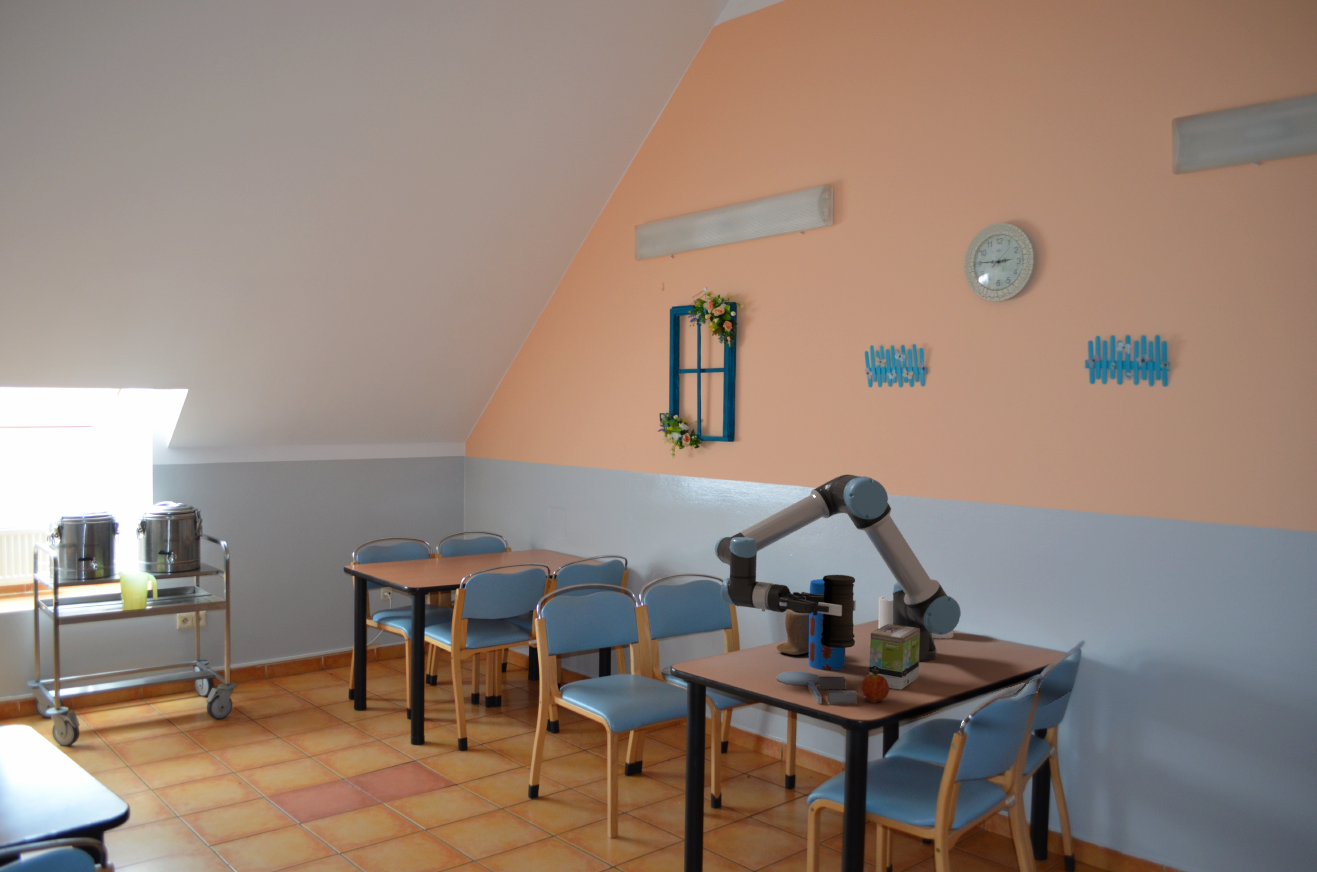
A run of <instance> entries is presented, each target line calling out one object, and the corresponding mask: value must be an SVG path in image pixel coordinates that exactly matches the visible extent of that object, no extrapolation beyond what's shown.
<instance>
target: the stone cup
mask: <svg viewBox="0 0 1317 872" xmlns="http://www.w3.org/2000/svg"><path fill="white" fill-rule="evenodd" d="M784 624H785V625H784V626H785V630H786V634H787V641H786V642H783V643H780V644H778V645H776V646H775V647H776V650H777V651H779V652H780V653H783V654H787V655H792V656H797V655H798V656H799V655H804V654H809V614H808V613H804V612H799V611H794V610H789V609H787V610H786V611H785V621H784Z"/></svg>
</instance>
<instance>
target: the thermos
mask: <svg viewBox="0 0 1317 872" xmlns="http://www.w3.org/2000/svg"><path fill="white" fill-rule="evenodd" d="M824 583H825V582H824V581H823V578H821V579H820V578H819V579H813V580H810V585H809V593H812V594H822V595H824ZM822 632H823V613H818V611H817V615H813V612H812V613H811V614H809V652H808V664H809V667H811V668H814V669H816V670H820V669H821V670H822V671H839V670H843V669H844V668H845V661H846V648H833V647H828V646H824V645H822V644H821V638H822V637H823V636H821V634H822ZM842 668H843V669H842ZM838 669H839V670H838Z"/></svg>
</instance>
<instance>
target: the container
mask: <svg viewBox="0 0 1317 872" xmlns="http://www.w3.org/2000/svg"><path fill="white" fill-rule="evenodd" d="M822 579H823V581H824V582H825V583H824V603H829V604H836V605H842V616H836V615H829V614H823V632H822V634H821V636H823V637H822V638H821V644H822V645H824V646H828V647H833V648H845V649H846V648H852V647H854V646H855V643H856V641H855V639H854V638H855V633H854V625H855V624H854V611H853V600H854V595H855V594H854V586H855V585H854V584H855V582H856V579H855V577H854V576H851V575H846V574H826V575H823V577H822Z"/></svg>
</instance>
